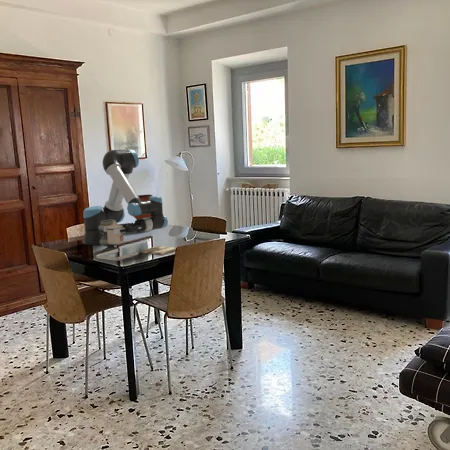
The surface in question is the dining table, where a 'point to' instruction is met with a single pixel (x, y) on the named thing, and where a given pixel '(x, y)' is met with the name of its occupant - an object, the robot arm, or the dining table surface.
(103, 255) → the cup dock
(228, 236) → the dining table surface
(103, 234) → the apothecary jar
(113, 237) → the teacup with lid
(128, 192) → the robot arm
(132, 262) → the dining table surface
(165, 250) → the oak board
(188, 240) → the dining table surface
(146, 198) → the goblet
